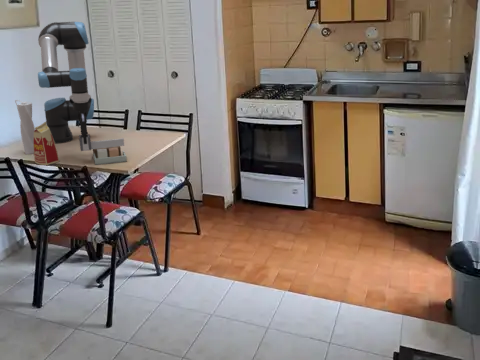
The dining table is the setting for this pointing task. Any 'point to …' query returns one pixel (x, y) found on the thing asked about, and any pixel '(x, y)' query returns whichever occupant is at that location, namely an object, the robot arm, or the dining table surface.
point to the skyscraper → (26, 126)
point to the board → (107, 151)
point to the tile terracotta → (113, 152)
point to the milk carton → (44, 146)
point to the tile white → (102, 153)
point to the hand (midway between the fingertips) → (85, 148)
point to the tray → (110, 159)
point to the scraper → (101, 143)
